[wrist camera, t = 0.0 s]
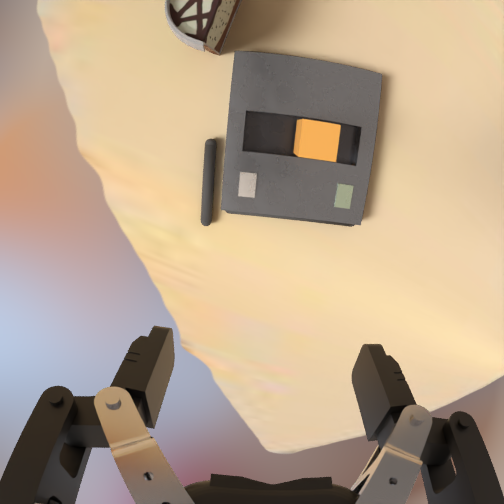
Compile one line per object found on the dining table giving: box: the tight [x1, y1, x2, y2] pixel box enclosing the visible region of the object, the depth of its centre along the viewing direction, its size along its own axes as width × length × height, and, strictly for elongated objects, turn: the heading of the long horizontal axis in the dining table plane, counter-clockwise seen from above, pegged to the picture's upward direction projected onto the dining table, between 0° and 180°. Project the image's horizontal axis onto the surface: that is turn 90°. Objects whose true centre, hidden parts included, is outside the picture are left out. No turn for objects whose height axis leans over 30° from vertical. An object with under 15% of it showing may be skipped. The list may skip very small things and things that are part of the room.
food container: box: [165, 0, 242, 55], centre depth 25 cm, size 12×6×10 cm, turn 162°
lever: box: [293, 119, 341, 162], centre depth 32 cm, size 4×4×7 cm
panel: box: [221, 51, 382, 225], centre depth 35 cm, size 20×18×2 cm
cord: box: [225, 210, 355, 227], centre depth 39 cm, size 17×1×1 cm, turn 85°
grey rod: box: [201, 139, 216, 226], centre depth 38 cm, size 11×1×1 cm, turn 175°
